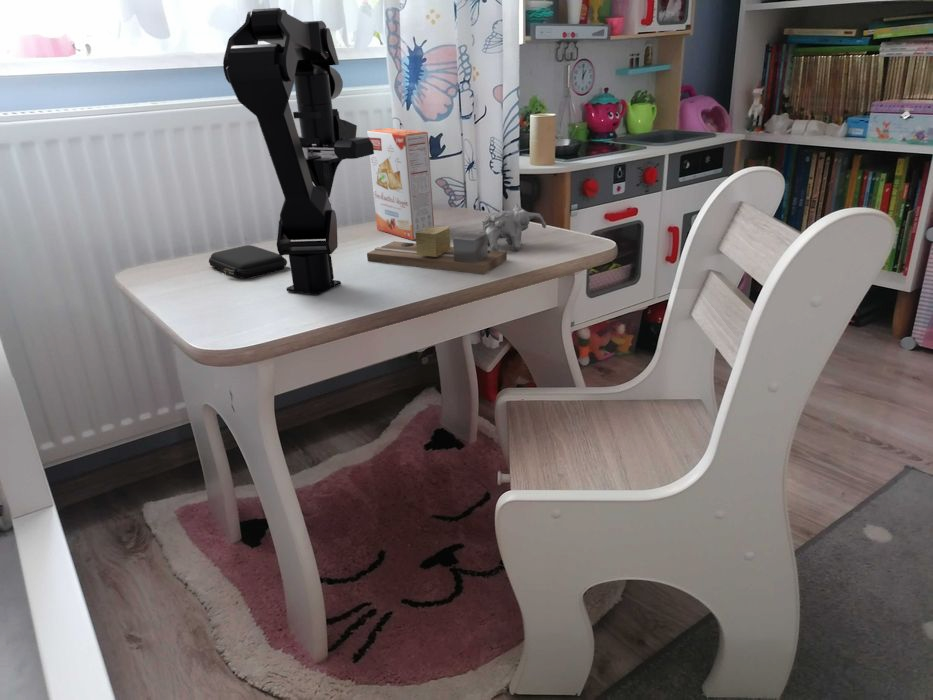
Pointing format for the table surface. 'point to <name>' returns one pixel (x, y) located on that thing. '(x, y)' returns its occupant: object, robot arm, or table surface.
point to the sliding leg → (433, 241)
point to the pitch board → (444, 255)
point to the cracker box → (401, 181)
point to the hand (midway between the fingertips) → (326, 197)
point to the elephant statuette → (508, 226)
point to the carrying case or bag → (247, 261)
